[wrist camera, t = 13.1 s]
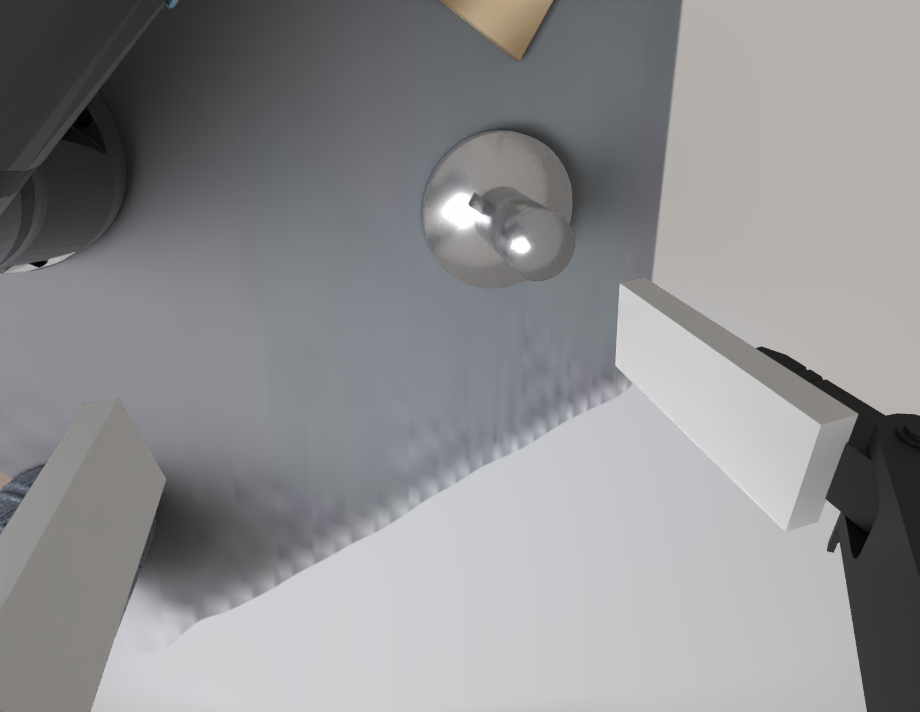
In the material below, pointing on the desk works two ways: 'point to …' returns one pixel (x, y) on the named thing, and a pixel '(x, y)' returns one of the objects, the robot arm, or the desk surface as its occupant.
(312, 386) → the desk surface
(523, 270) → the bayonet post
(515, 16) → the coaster
